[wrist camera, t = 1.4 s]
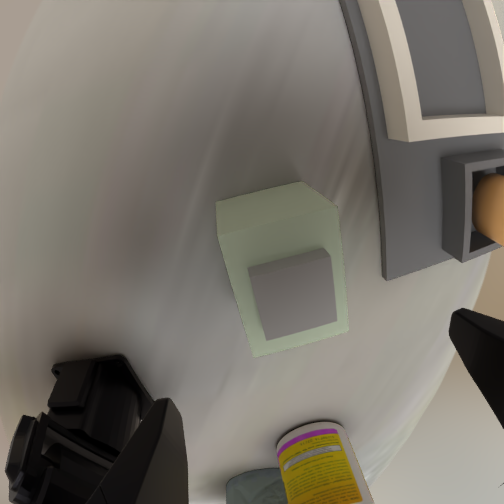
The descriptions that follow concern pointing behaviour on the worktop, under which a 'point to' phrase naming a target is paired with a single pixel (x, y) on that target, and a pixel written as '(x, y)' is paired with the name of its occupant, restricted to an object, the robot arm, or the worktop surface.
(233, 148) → the worktop surface
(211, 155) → the worktop surface
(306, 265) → the pale green block
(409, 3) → the chassis
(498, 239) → the click button
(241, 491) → the drinking glass
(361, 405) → the worktop surface
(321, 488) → the supplement bottle
